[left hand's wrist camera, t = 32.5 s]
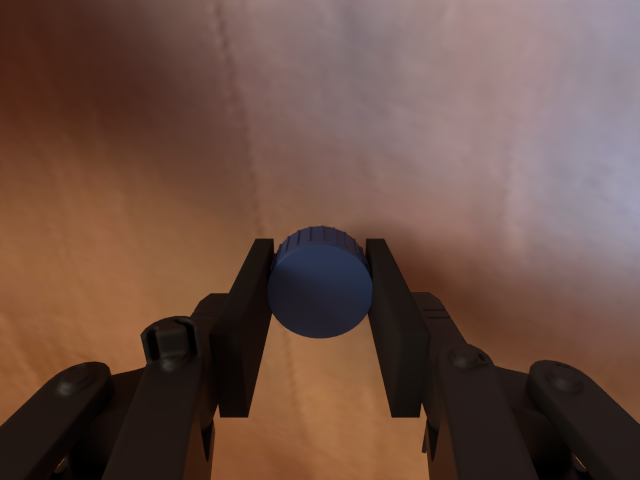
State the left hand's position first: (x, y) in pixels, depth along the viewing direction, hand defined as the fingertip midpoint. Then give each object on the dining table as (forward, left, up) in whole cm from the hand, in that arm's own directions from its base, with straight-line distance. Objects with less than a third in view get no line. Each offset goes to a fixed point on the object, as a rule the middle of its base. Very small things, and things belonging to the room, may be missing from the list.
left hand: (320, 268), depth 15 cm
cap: (0, 0, +2) cm, 2 cm away
